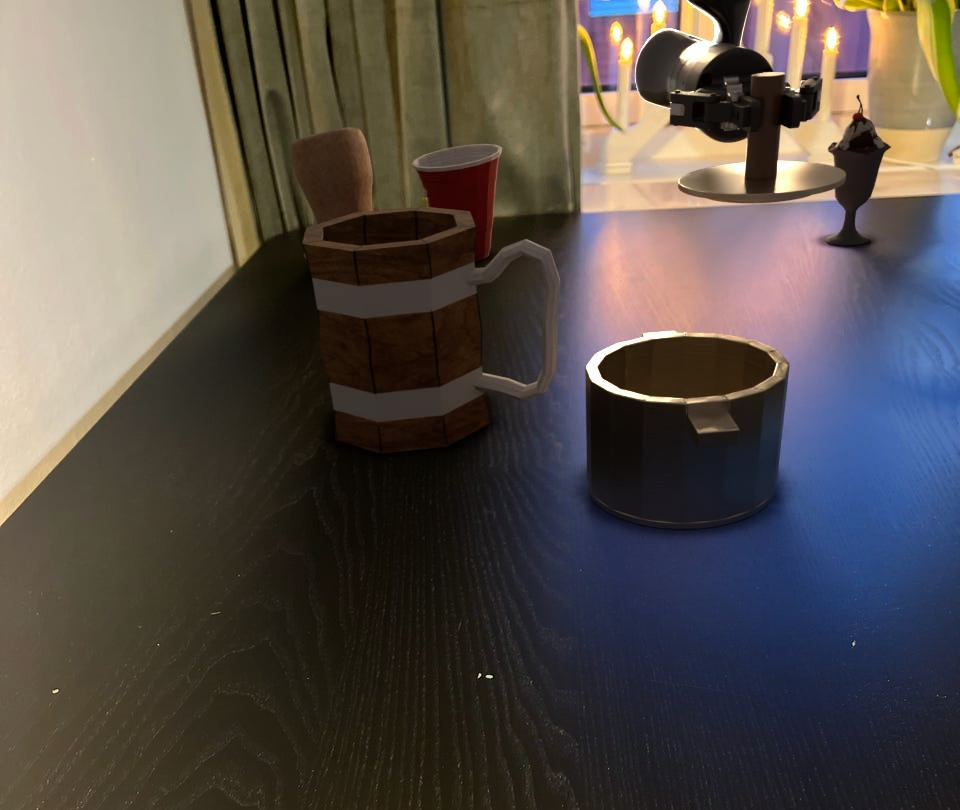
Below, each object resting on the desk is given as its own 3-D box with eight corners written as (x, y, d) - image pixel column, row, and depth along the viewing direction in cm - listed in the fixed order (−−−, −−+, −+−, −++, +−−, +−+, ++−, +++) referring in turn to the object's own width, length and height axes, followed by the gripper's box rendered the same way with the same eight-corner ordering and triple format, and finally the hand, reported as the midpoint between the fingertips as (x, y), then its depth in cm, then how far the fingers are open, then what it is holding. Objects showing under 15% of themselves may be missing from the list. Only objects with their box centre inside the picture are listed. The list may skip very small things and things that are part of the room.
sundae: (838, 230, 119) (855, 90, 111) (888, 238, 115) (910, 93, 106) (805, 242, 116) (820, 99, 108) (855, 250, 112) (876, 101, 103)
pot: (737, 426, 75) (746, 314, 70) (813, 541, 60) (831, 409, 55) (573, 440, 75) (571, 329, 70) (608, 558, 60) (608, 429, 55)
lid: (814, 168, 88) (825, 58, 84) (869, 199, 77) (886, 74, 72) (663, 183, 89) (666, 74, 84) (697, 215, 77) (702, 91, 73)
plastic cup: (408, 257, 125) (396, 153, 118) (483, 241, 128) (476, 140, 122) (445, 274, 117) (434, 164, 110) (524, 257, 120) (518, 149, 113)
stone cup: (330, 243, 134) (310, 120, 126) (411, 242, 131) (397, 116, 122) (281, 274, 123) (256, 141, 114) (369, 274, 119) (350, 137, 111)
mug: (302, 448, 78) (264, 251, 69) (367, 385, 88) (342, 207, 79) (542, 464, 72) (533, 251, 63) (582, 395, 82) (579, 204, 74)
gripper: (648, 52, 89) (690, 69, 75) (802, 37, 89) (872, 51, 75) (647, 143, 93) (686, 175, 79) (793, 129, 93) (858, 159, 79)
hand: (776, 115), depth 77 cm, fingers closed on lid, 2 cm apart
